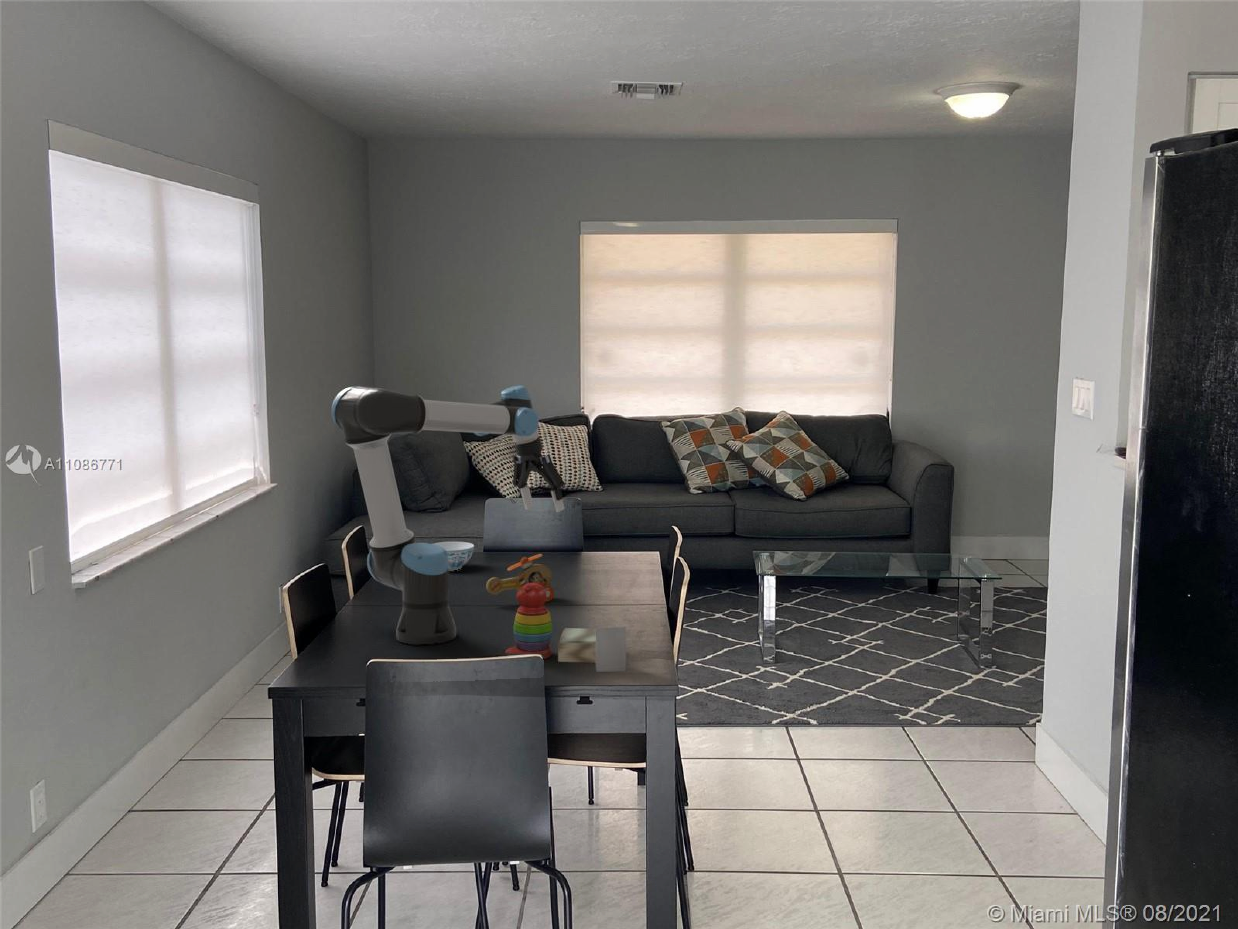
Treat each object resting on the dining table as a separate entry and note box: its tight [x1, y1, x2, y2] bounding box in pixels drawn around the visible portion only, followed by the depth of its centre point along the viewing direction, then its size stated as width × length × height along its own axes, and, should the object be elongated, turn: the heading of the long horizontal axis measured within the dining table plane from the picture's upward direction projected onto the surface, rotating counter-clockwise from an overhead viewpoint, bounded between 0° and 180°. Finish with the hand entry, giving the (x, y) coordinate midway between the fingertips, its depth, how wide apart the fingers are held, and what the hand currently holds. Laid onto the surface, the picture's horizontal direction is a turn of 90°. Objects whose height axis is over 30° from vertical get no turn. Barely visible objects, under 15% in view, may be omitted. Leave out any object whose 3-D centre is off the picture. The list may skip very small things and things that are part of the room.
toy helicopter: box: [485, 553, 555, 603], centre depth 314 cm, size 8×21×14 cm, turn 123°
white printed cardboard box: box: [595, 626, 627, 673], centre depth 252 cm, size 4×7×10 cm, turn 96°
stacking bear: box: [504, 582, 553, 660], centre depth 262 cm, size 11×10×18 cm
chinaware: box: [433, 541, 475, 572], centre depth 358 cm, size 15×15×8 cm
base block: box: [557, 627, 596, 664], centre depth 263 cm, size 12×12×5 cm
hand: (544, 509), depth 314 cm, fingers open, 13 cm apart
